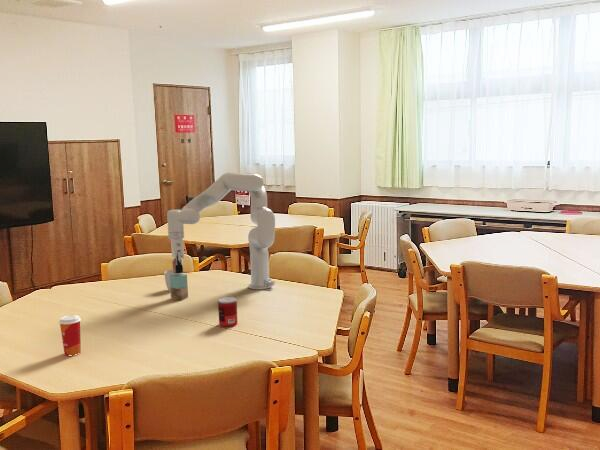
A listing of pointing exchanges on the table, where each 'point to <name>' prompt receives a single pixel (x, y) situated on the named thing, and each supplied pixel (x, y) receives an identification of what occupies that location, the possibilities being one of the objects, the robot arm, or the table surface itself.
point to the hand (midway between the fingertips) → (178, 271)
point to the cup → (168, 278)
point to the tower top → (178, 281)
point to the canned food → (227, 311)
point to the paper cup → (71, 334)
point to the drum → (175, 266)
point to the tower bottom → (179, 293)
